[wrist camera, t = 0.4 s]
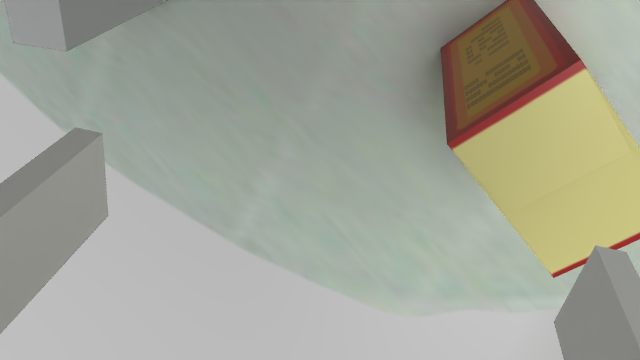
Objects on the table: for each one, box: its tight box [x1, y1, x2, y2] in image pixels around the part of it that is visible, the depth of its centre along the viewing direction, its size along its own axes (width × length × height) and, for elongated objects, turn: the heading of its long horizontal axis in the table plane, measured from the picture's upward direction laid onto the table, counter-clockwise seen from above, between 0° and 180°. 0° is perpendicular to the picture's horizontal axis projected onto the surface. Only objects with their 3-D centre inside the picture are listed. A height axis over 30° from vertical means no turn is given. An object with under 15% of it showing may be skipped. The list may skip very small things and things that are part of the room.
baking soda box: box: [441, 0, 640, 278], centre depth 31 cm, size 10×6×16 cm
